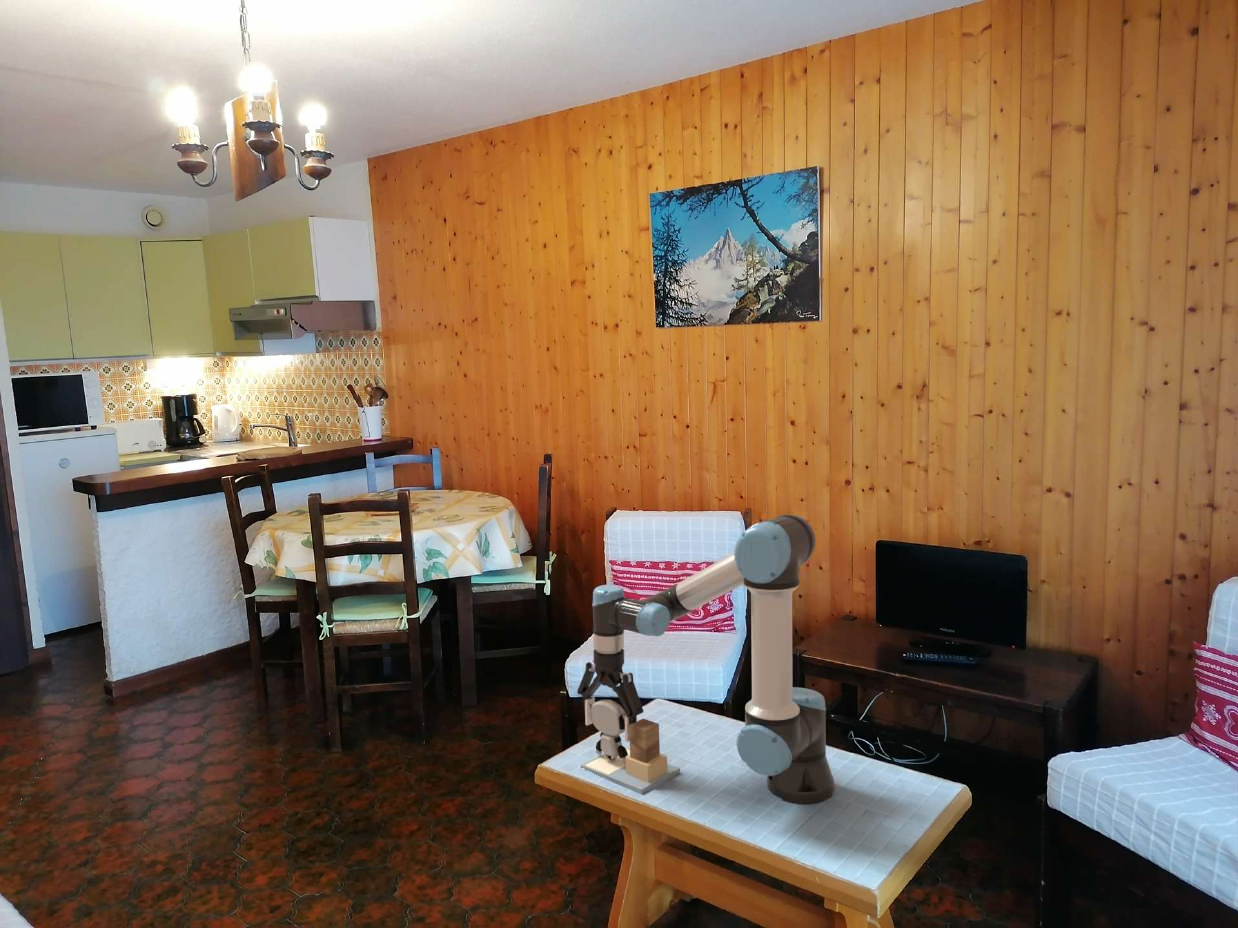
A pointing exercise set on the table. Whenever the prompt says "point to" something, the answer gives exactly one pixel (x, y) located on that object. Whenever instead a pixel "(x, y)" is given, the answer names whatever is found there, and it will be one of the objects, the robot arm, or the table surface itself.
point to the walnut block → (644, 740)
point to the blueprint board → (632, 780)
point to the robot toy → (609, 728)
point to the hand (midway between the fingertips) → (609, 731)
